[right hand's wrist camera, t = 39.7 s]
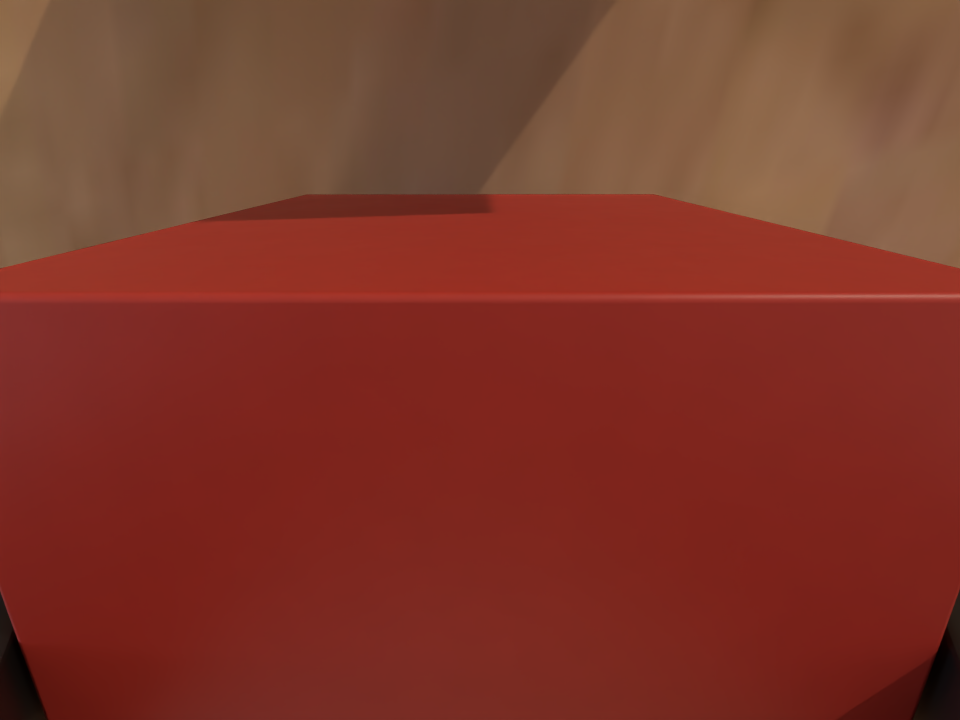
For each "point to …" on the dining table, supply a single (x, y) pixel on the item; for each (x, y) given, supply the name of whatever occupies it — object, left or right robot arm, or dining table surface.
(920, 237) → the dining table surface
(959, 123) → the dining table surface
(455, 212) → the block
